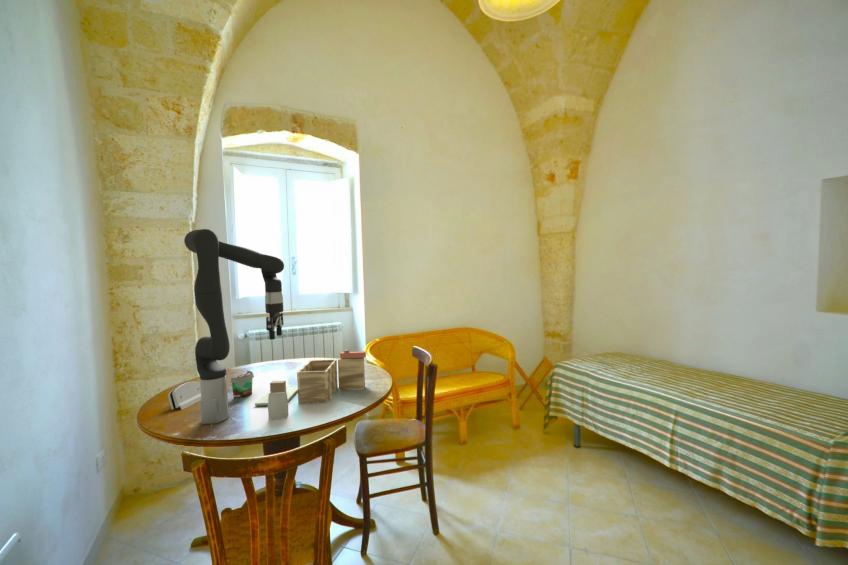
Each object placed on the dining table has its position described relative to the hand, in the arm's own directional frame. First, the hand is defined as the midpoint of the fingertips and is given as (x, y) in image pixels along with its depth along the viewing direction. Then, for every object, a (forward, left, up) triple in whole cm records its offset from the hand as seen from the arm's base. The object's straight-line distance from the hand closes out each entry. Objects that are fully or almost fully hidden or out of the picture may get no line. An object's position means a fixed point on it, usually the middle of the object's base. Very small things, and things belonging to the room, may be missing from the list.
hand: (275, 337), depth 171 cm
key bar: (+10, -33, -13) cm, 37 cm away
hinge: (-2, +40, -28) cm, 49 cm away
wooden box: (+2, -25, -28) cm, 37 cm away
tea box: (-22, -8, -28) cm, 37 cm away
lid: (0, 0, -28) cm, 28 cm away
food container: (+5, +17, -28) cm, 33 cm away
